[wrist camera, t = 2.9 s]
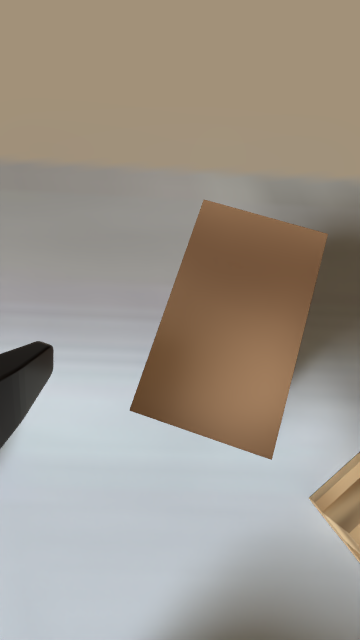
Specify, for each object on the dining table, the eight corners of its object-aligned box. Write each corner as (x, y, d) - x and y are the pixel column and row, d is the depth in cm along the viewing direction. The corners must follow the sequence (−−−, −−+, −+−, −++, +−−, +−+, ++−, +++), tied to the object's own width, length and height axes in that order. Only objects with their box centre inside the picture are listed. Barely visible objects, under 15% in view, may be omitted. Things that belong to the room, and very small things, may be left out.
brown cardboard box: (224, 429, 18) (271, 459, 8) (160, 407, 18) (129, 410, 8) (255, 321, 19) (327, 233, 9) (195, 303, 19) (203, 199, 10)
